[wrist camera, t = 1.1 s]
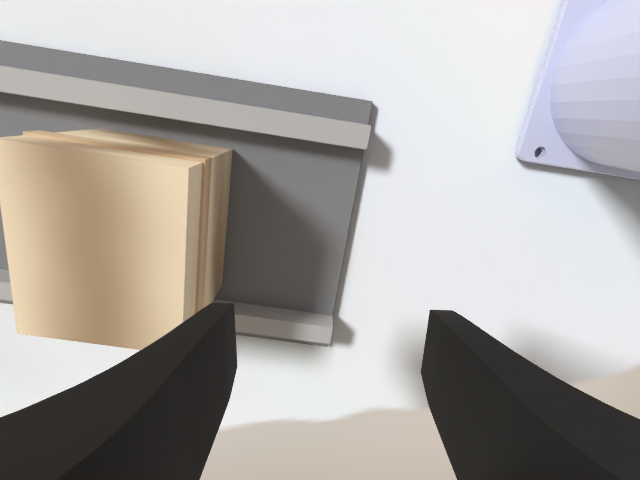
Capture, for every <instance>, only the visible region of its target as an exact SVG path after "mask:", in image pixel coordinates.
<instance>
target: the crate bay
mask: <svg viewBox="0 0 640 480" xmlns="http://www.w3.org/2000/svg"><path fill="white" fill-rule="evenodd" d="M372 102H373V101H367V100H360V99H354V98H348V97H342V96H336V95H330V94H324V93H318V92H312V91H306V90H299V89H293V88H287V87H281V86H275V85H269V84H263V83H257V82H251V81H245V80H238V79H232V78H226V77H220V76H214V75H208V74H202V73H196V72H190V71H184V70H178V69H171V68H165V67H159V66H153V65H147V64H141V63H135V62H129V61H123V60H117V59H110V58H104V57H98V56H92V55H86V54H80V53H74V52H68V51H62V50H56V49H49V48H43V47H37V46H31V45H25V44H19V43H13V42H7V41H1V40H0V137H10V136H21V135H23V131H37V130H41V131H47V132H54V133H55V132H66V131H77V130H88V129H99V128H102V129H108V130H115V131H121V132H128V133H134V134H140V135H147V136H153V137H160V138H166V139H173V140H179V141H185V142H192V143H198V144H205V145H211V146H217V147H224V148H230V149H233V150H232V163H231V176H230V190H229V203H228V217H227V230H226V243H225V257H224V270H223V284H222V286H221V288H220V289H219V291H218V293H217V295H216V296H215V298H214V300H213V302H212V303H234V310H235V331H236V334H237V335H244V336H252V337H259V338H266V339H274V340H281V341H289V342H296V343H303V344H311V345H318V346H325V347H327V344H330V341H331V336H332V331H333V310H334V305H335V300H336V294H337V289H338V284H339V278H340V273H341V268H342V262H343V257H344V252H345V246H346V241H347V236H348V230H349V225H350V220H351V214H352V209H353V203H354V198H355V193H356V187H357V182H358V177H359V171H360V166H361V161H362V155H363V150H364V149H366V150H367V146H368V141H369V136H370V131H371V125H368V123H369V118H370V113H371V107H372ZM0 302H1V303H8V304H13V298H12V290H11V283H10V275H9V267H8V260H7V252H6V245H5V237H4V229H3V222H2V214H1V206H0Z"/></svg>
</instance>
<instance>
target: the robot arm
mask: <svg viewBox="0 0 640 480" xmlns="http://www.w3.org/2000/svg"><path fill="white" fill-rule="evenodd" d="M538 147H541V149H542V150H541V154H540V155H539V156H538V157H535V150H536V149H537V148H538ZM515 154H516V157H517V158H518V159H519V160H522V161H525V162H531V163H537V164H544V165H550V166H556V167H562V168H569V169H575V170H581V171H587V172H594V173H600V174H606V175H612V176H619V177H625V178H631V179H637V180H640V0H563V1H562V4H561V7H560V10H559V13H558V16H557V20H556V23H555V26H554V29H553V32H552V35H551V38H550V42H549V45H548V48H547V51H546V54H545V57H544V61H543V64H542V67H541V70H540V73H539V76H538V79H537V83H536V86H535V89H534V92H533V95H532V98H531V102H530V105H529V108H528V111H527V114H526V117H525V120H524V124H523V127H522V130H521V133H520V136H519V139H518V142H517V146H516V149H515ZM236 369H237V352H236V331H235V310H234V303H211V304H209V305H207V306H206V307H204V308H203V309H201V310H200V311H198V312H197V313H196V314H194V315H193V316H191V317H190V318H188V319H187V320H186V321H184V322H183V323H181V324H180V325H178V326H177V327H176V328H174V329H173V330H171V331H170V332H168V333H167V334H165V335H164V336H163V337H161V338H159V339H158V340H156V341H155V342H153V343H152V344H150V345H148V346H147V347H145V348H144V349H142V350H140V351H139V352H137V353H136V354H134V355H132V356H131V357H129V358H127V359H126V360H124V361H122V362H121V363H119V364H117V365H115V366H113V367H112V368H110V369H108V370H106V371H104V372H102V373H100V374H98V375H96V376H94V377H92V378H90V379H88V380H87V381H85V382H83V383H80V384H78V385H76V386H74V387H72V388H70V389H67V390H65V391H63V392H61V393H58V394H56V395H54V396H51V397H49V398H47V399H45V400H42V401H40V402H38V403H36V404H33V405H31V406H29V407H26V408H24V409H21V410H19V411H16V412H14V413H11V414H9V415H6V416H3V417H1V418H0V480H199V479H200V477H201V474H202V471H203V469H204V466H205V463H206V461H207V458H208V455H209V453H210V450H211V448H212V445H213V442H214V440H215V437H216V434H217V432H218V429H219V426H220V424H221V421H222V418H223V416H224V413H225V410H226V407H227V405H228V402H229V399H230V395H231V391H232V387H233V382H234V378H235V374H236ZM421 375H422V379H423V383H424V388H425V392H426V396H427V400H428V404H429V407H430V410H431V413H432V416H433V418H434V421H435V423H436V426H437V428H438V431H439V434H440V436H441V439H442V442H443V444H444V447H445V449H446V452H447V455H448V457H449V460H450V462H451V465H452V467H453V470H454V472H455V475H456V478H457V480H640V419H638V418H635V417H633V416H631V415H629V414H627V413H624V412H622V411H620V410H618V409H616V408H614V407H612V406H609V405H608V404H605V403H603V402H601V401H599V400H598V399H596V398H594V397H592V396H590V395H588V394H586V393H584V392H582V391H580V390H578V389H577V388H575V387H573V386H571V385H569V384H567V383H565V382H564V381H562V380H560V379H558V378H556V377H555V376H553V375H551V374H550V373H548V372H546V371H545V370H543V369H541V368H540V367H538V366H536V365H535V364H533V363H531V362H530V361H528V360H527V359H525V358H524V357H522V356H520V355H519V354H517V353H516V352H514V351H513V350H511V349H510V348H508V347H507V346H505V345H504V344H502V343H501V342H499V341H498V340H496V339H495V338H493V337H492V336H490V335H489V334H488V333H486V332H485V331H483V330H482V329H480V328H479V327H477V326H476V325H474V324H473V323H472V322H470V321H469V320H467V319H466V318H464V317H463V316H461V315H459V314H458V313H456V312H454V311H450V310H430V313H429V320H428V327H427V334H426V341H425V348H424V354H423V361H422V368H421Z"/></svg>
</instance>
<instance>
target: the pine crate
mask: <svg viewBox="0 0 640 480" xmlns="http://www.w3.org/2000/svg"><path fill="white" fill-rule="evenodd" d="M232 150H233V149H230V148H224V147H217V146H211V145H205V144H198V143H192V142H185V141H179V140H173V139H166V138H160V137H153V136H147V135H140V134H134V133H128V132H121V131H115V130H108V129H102V128H99V129H88V130H77V131H66V132H55V133H54V132H47V131H41V130H37V131H23V135H21V136H10V137H0V206H1V214H2V222H3V229H4V237H5V245H6V252H7V260H8V267H9V275H10V283H11V290H12V298H13V306H14V313H15V321H16V328H17V333H18V334H25V335H33V336H40V337H48V338H55V339H63V340H70V341H78V342H86V343H93V344H101V345H108V346H116V347H123V348H131V349H139V350H142V349H144V348H145V347H147V346H148V345H150V344H152V343H153V342H155V341H156V340H158V339H159V338H161V337H163V336H164V335H165V334H167V333H168V332H170V331H171V330H173V329H174V328H176V327H177V326H178V325H180V324H181V323H183V322H184V321H186V320H187V319H188V318H190V317H191V316H193V315H194V314H196V313H197V312H198V311H200V310H201V309H203V308H204V307H206V306H207V305H209V304H211V303H212V302H213V300H214V298H215V296H216V295H217V293H218V291H219V289H220V288H221V286H222V284H223V270H224V257H225V243H226V230H227V217H228V203H229V190H230V176H231V163H232Z"/></svg>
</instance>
